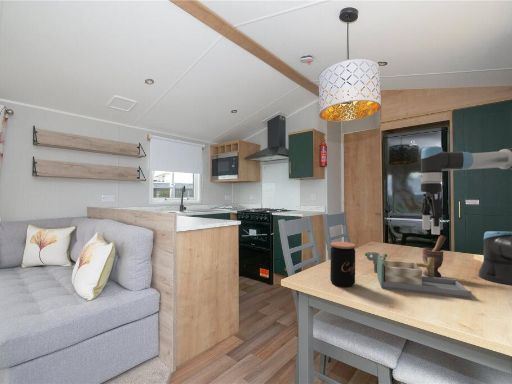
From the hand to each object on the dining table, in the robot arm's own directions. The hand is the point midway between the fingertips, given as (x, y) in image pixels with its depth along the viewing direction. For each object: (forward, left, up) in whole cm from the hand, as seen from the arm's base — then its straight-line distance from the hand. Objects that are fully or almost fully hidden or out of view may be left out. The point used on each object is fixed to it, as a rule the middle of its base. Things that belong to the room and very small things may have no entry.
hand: (430, 231), depth 112 cm
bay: (+4, 0, -24) cm, 25 cm away
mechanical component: (+20, -15, -25) cm, 35 cm away
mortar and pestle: (-7, -20, -25) cm, 33 cm away
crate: (+9, 0, -23) cm, 25 cm away
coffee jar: (+36, +8, -25) cm, 44 cm away
